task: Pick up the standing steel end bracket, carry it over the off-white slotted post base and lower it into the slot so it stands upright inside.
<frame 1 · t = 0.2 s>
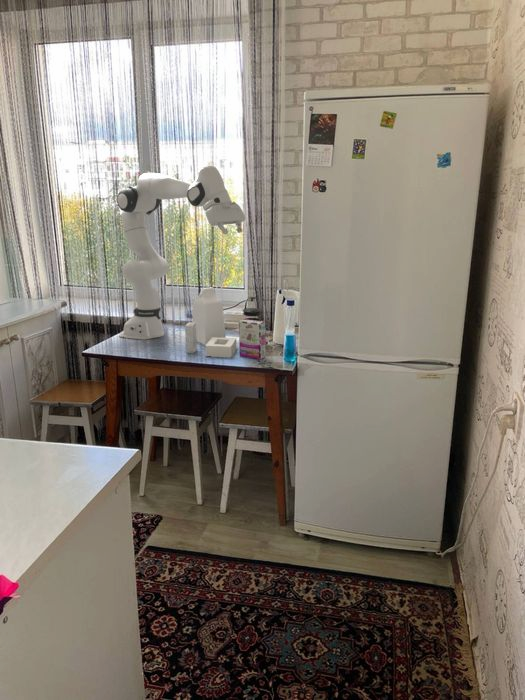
hand: (233, 233, 220), 54 cm above the table, tool tilted 30°, fingers open, 8 cm apart
end bracket: (191, 351, 240), on the table
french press: (251, 344, 251), on the table
candy bar box: (252, 357, 232), on the table
milk: (209, 340, 258), on the table
slotted post base: (221, 352, 239), on the table
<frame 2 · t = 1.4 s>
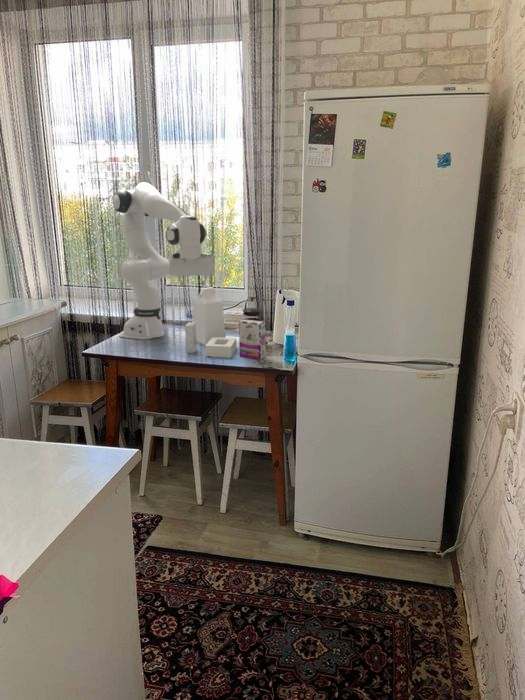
hand: (193, 285, 231), 31 cm above the table, tool pointing down, fingers open, 8 cm apart
nothing on the table moved.
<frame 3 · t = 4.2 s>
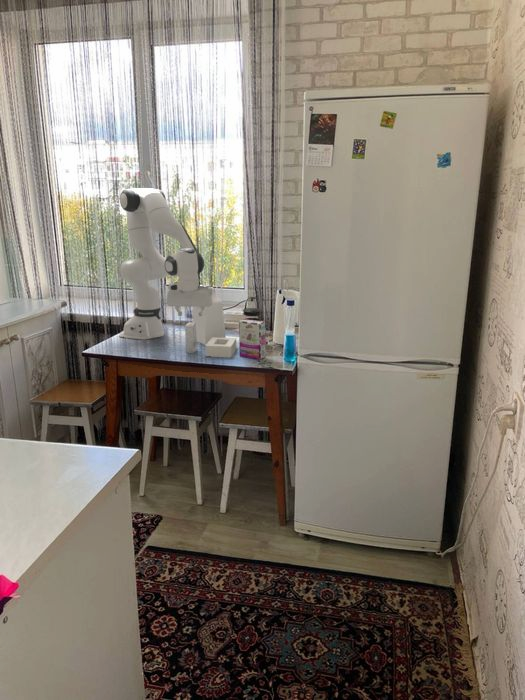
hand: (190, 315, 235), 17 cm above the table, tool pointing down, fingers open, 8 cm apart
nothing on the table moved.
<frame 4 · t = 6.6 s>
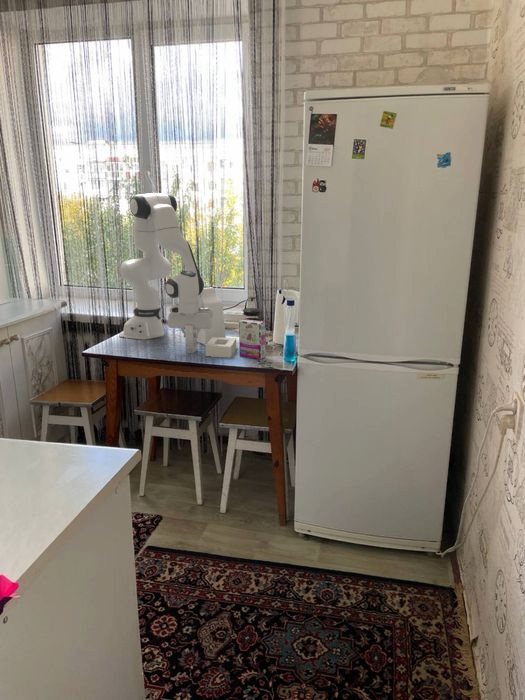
hand: (191, 337, 238), 7 cm above the table, tool pointing down, fingers closed on end bracket, 3 cm apart
end bracket: (191, 351, 240), on the table, touching gripper
everything else where it was.
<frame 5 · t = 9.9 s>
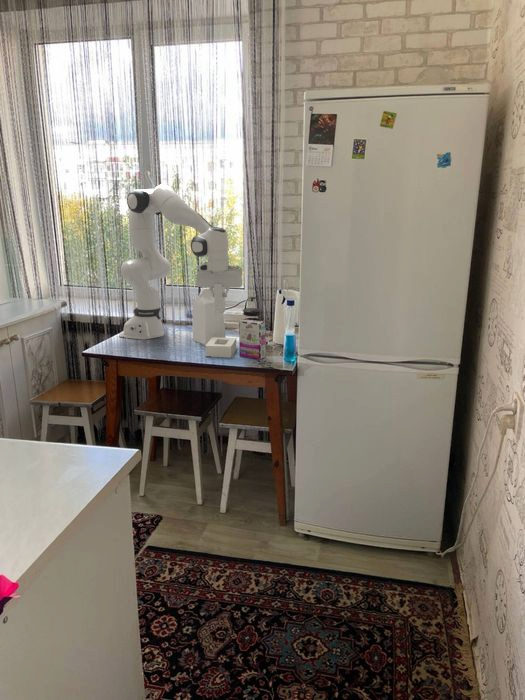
hand: (219, 297, 231), 26 cm above the table, tool pointing down, fingers closed on end bracket, 3 cm apart
end bracket: (220, 311, 233), point 19 cm above the table, touching gripper
everything else where it was.
when the fingers open (8 cm above the table, at t = 13.4 s): end bracket drops 1 cm, resting in slotted post base.
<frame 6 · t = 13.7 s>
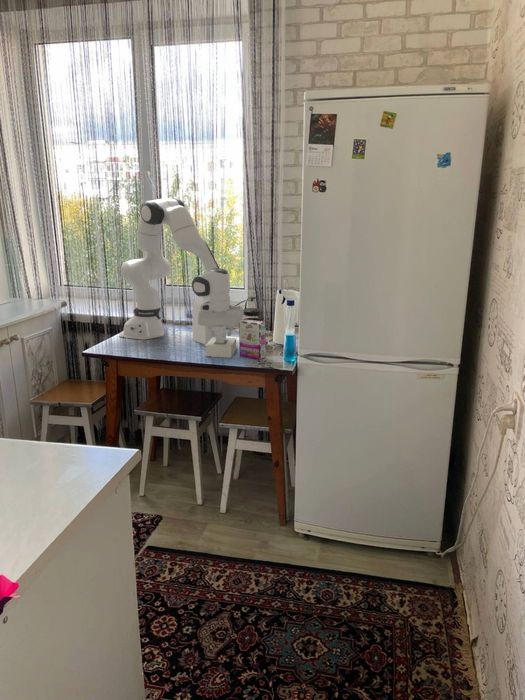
hand: (221, 335, 236), 8 cm above the table, tool pointing down, fingers open, 6 cm apart
end bracket: (221, 352, 239), resting in slotted post base
everything else where it was.
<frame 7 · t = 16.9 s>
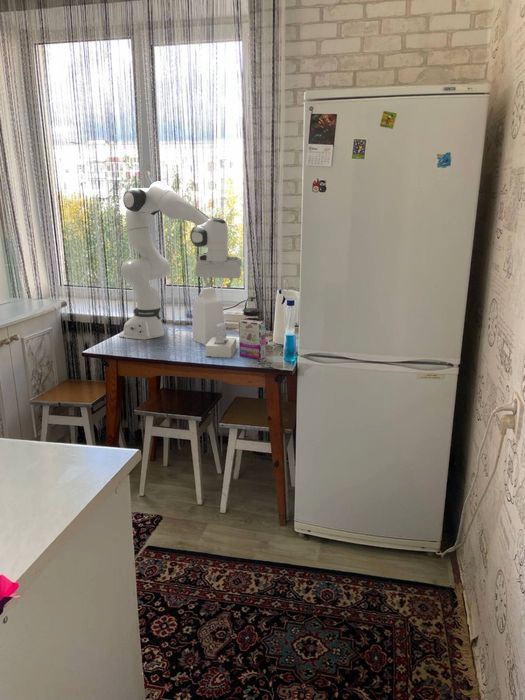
hand: (218, 287, 234), 29 cm above the table, tool pointing down, fingers open, 8 cm apart
nothing on the table moved.
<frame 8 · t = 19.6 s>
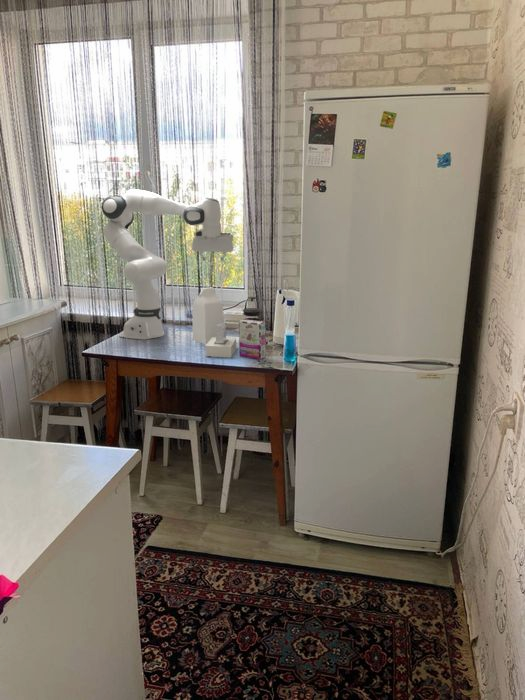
hand: (213, 260, 260), 37 cm above the table, tool pointing down, fingers open, 8 cm apart
nothing on the table moved.
at the end: end bracket 0.1 cm off-centre on the slotted post base, point 0.0 cm above the slotted post base's base; end bracket tilted 0°; the gripper is holding nothing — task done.
